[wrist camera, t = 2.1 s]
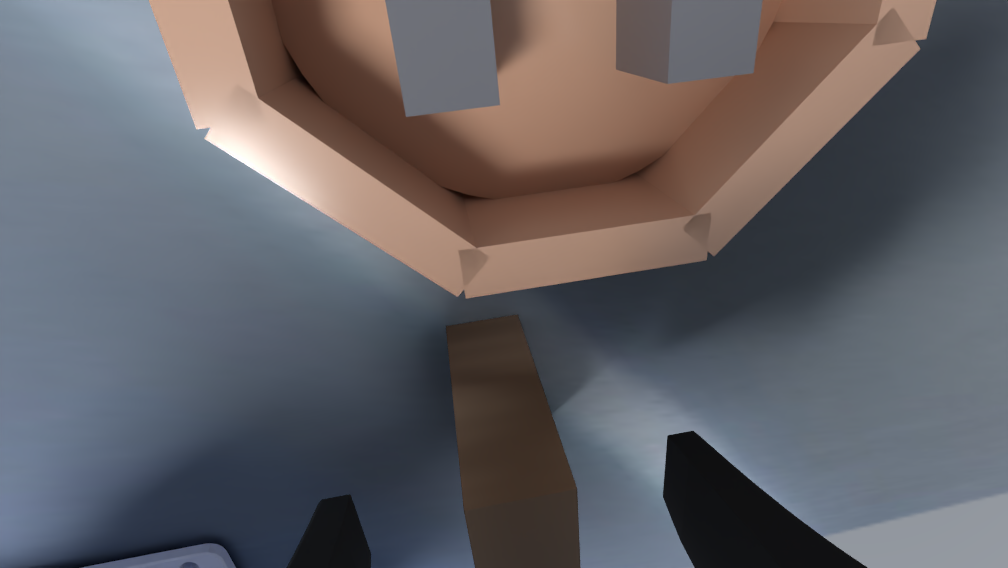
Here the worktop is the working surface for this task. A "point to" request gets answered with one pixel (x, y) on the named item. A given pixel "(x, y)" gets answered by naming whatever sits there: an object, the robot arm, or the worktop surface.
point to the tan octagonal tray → (534, 118)
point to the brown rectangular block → (509, 452)
